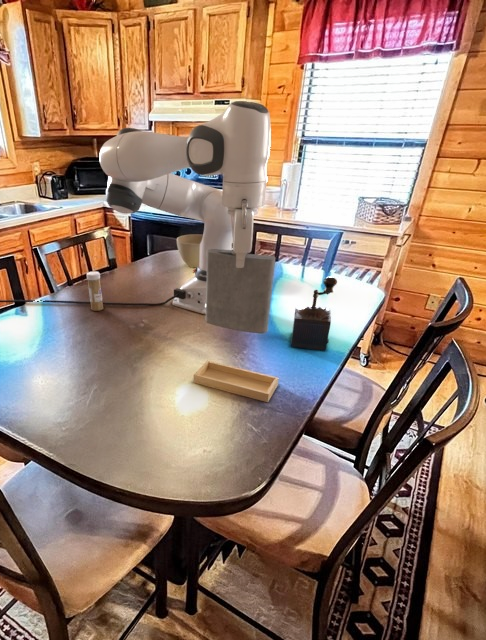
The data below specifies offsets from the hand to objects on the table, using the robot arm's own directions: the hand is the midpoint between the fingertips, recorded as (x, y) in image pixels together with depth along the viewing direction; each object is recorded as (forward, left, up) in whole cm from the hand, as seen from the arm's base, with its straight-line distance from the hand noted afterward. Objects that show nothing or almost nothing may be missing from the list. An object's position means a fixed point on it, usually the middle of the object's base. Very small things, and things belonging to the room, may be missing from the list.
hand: (239, 262), depth 93 cm
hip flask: (0, 0, -16) cm, 16 cm away
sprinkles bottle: (-62, +24, -31) cm, 74 cm away
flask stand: (+2, -1, -31) cm, 31 cm away
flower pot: (-53, +89, -31) cm, 108 cm away
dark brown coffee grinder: (+13, +34, -31) cm, 48 cm away
